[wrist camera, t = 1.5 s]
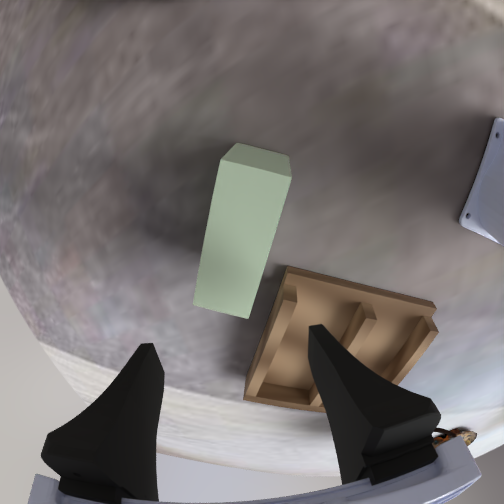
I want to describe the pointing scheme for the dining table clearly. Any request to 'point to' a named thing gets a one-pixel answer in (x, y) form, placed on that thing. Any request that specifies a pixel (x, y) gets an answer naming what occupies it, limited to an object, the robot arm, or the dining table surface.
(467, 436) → the burger
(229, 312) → the pale green block
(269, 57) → the dining table surface
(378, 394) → the robot arm
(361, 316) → the wooden compartment tray
